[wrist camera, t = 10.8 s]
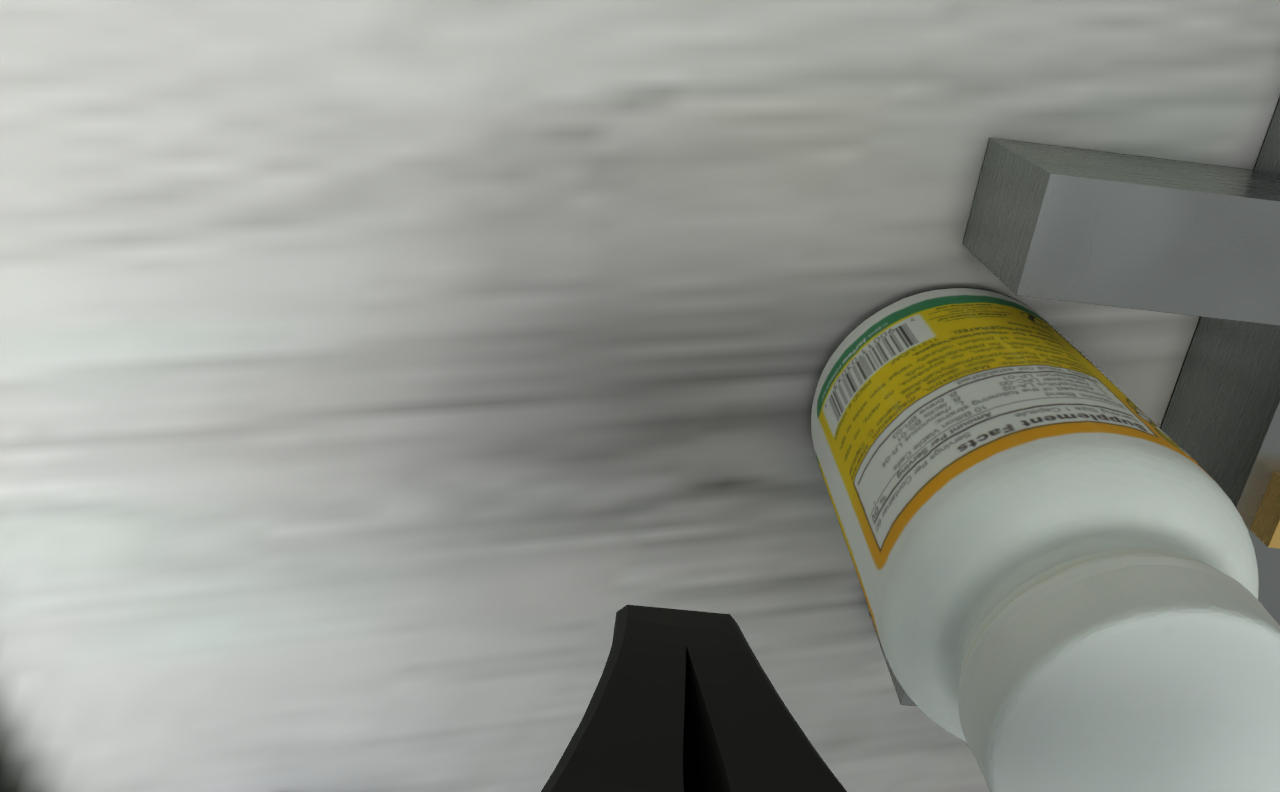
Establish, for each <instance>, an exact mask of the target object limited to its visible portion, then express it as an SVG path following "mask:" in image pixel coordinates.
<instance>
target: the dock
mask: <svg viewBox="0 0 1280 792" xmlns="http://www.w3.org/2000/svg"><path fill="white" fill-rule="evenodd" d="M963 245H964V246H965V247H966V248H967V249H968V250H969V251H970V252H972V253H973V254H974V255H975V256H976V257H977V258H978V259H979V260H980V261H981V262H982V263H983V264H984V265H985V266H986V267H987V268H988V269H989V270H990V271H991V272H992V273H993V274H994V275H996V276H997V277H998V278H999V279H1000V280H1001V281H1002V282H1003V283H1004V284H1005V285H1006V286H1007V287H1008V288H1009V289H1010V290H1011V291H1012V292H1013V293H1014V294H1015V295H1017V296H1026V297H1035V298H1044V299H1052V300H1061V301H1070V302H1079V303H1087V304H1096V305H1105V306H1114V307H1122V308H1131V309H1140V310H1149V311H1157V312H1166V313H1175V314H1184V315H1192V316H1201V318H1200V321H1199V324H1198V327H1197V330H1196V332H1195V335H1194V338H1193V341H1192V343H1191V346H1190V349H1189V352H1188V354H1187V357H1186V360H1185V363H1184V366H1183V368H1182V371H1181V374H1180V377H1179V379H1178V382H1177V385H1176V388H1175V390H1174V393H1173V396H1172V399H1171V401H1170V404H1169V407H1168V410H1167V413H1166V415H1165V418H1164V421H1163V424H1162V426H1161V430H1162V431H1163V432H1164V433H1165V434H1167V435H1168V436H1169V437H1170V438H1171V439H1172V440H1173V441H1174V442H1175V443H1176V444H1177V445H1178V446H1179V447H1180V448H1182V449H1183V450H1184V451H1185V452H1186V453H1188V454H1189V455H1190V456H1191V457H1192V458H1194V460H1195V461H1196V462H1197V463H1198V465H1199V466H1200V467H1201V468H1202V469H1203V470H1204V471H1205V472H1206V473H1207V474H1208V475H1209V476H1210V477H1211V478H1212V479H1213V480H1214V481H1215V482H1216V483H1217V484H1218V485H1219V486H1220V487H1221V489H1222V490H1223V491H1224V492H1225V493H1226V495H1227V496H1228V497H1229V498H1230V500H1231V501H1232V503H1233V504H1234V506H1235V507H1236V509H1237V510H1238V512H1239V514H1240V515H1241V517H1242V519H1243V521H1244V523H1245V525H1246V527H1247V529H1248V532H1249V535H1250V538H1251V541H1252V544H1253V547H1254V550H1255V556H1256V561H1257V567H1258V579H1259V586H1258V600H1259V602H1260V603H1261V604H1262V605H1263V606H1264V608H1265V609H1266V610H1267V611H1268V613H1269V614H1270V615H1271V616H1272V617H1273V618H1274V620H1275V621H1276V622H1277V623H1278V624H1279V625H1280V100H1279V103H1278V105H1277V108H1276V111H1275V114H1274V116H1273V119H1272V122H1271V125H1270V128H1269V130H1268V133H1267V136H1266V139H1265V141H1264V144H1263V147H1262V150H1261V152H1260V155H1259V158H1258V161H1257V164H1256V166H1255V169H1254V170H1248V169H1239V168H1231V167H1223V166H1215V165H1207V164H1199V163H1191V162H1182V161H1174V160H1166V159H1158V158H1150V157H1142V156H1134V155H1126V154H1117V153H1109V152H1101V151H1093V150H1085V149H1077V148H1069V147H1061V146H1052V145H1044V144H1036V143H1028V142H1020V141H1012V140H1004V139H995V138H990V139H989V143H988V147H987V151H986V155H985V159H984V163H983V167H982V171H981V174H980V178H979V182H978V186H977V190H976V194H975V198H974V202H973V206H972V210H971V214H970V218H969V222H968V226H967V229H966V233H965V237H964V241H963ZM869 615H870V618H871V620H872V623H873V626H874V629H875V632H876V635H877V638H878V641H879V643H880V646H881V649H882V652H883V655H884V658H885V661H886V664H887V666H888V669H889V672H890V675H891V678H892V681H893V684H894V686H895V689H896V692H897V695H898V698H899V701H900V704H901V705H909V706H917V705H916V704H915V703H914V702H913V701H912V700H911V698H910V697H909V696H908V695H907V694H906V692H905V691H904V689H903V688H902V686H901V685H900V683H899V682H898V680H897V679H896V677H895V675H894V673H893V671H892V669H891V667H890V665H889V663H888V661H887V658H886V656H885V653H884V651H883V648H882V645H881V642H880V640H879V637H878V634H877V631H876V628H875V625H874V622H873V619H872V616H871V613H870V611H869Z"/></svg>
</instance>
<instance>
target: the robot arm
mask: <svg viewBox="0 0 1280 792" xmlns="http://www.w3.org/2000/svg"><path fill="white" fill-rule="evenodd" d="M541 792H847V791H846V790H845V789H844V787H843V786H842V785H841V783H840V782H839V781H838V780H837V778H836V777H835V776H834V774H833V773H832V772H831V771H830V769H829V768H828V767H827V765H826V764H825V762H824V761H823V760H822V758H821V757H820V756H819V754H818V753H817V751H816V750H815V749H814V747H813V746H812V744H811V743H810V741H809V740H808V738H807V737H806V736H805V734H804V733H803V731H802V730H801V728H800V727H799V725H798V724H797V722H796V721H795V719H794V718H793V716H792V715H791V713H790V712H789V710H788V709H787V707H786V706H785V704H784V703H783V701H782V700H781V698H780V697H779V695H778V693H777V692H776V690H775V689H774V687H773V685H772V684H771V682H770V680H769V679H768V677H767V675H766V674H765V672H764V670H763V669H762V667H761V665H760V664H759V662H758V660H757V659H756V657H755V655H754V653H753V652H752V650H751V648H750V646H749V644H748V643H747V641H746V639H745V637H744V635H743V634H742V632H741V630H740V628H739V626H738V624H737V623H736V622H735V620H734V619H733V618H732V617H731V615H730V614H720V613H709V612H698V611H688V610H677V609H666V608H656V607H645V606H634V605H626V606H625V607H623V608H622V609H621V610H619V611H618V612H617V613H616V621H615V628H614V635H613V643H612V647H611V650H610V654H609V657H608V660H607V662H606V665H605V668H604V671H603V674H602V676H601V679H600V681H599V683H598V685H597V688H596V690H595V692H594V694H593V697H592V699H591V701H590V703H589V706H588V708H587V710H586V713H585V715H584V717H583V719H582V721H581V723H580V725H579V727H578V728H577V730H576V732H575V734H574V736H573V737H572V739H571V741H570V743H569V745H568V747H567V748H566V750H565V752H564V754H563V756H562V757H561V759H560V761H559V763H558V765H557V766H556V768H555V770H554V772H553V773H552V775H551V776H550V778H549V780H548V781H547V783H546V784H545V786H544V788H543V789H542V791H541Z"/></svg>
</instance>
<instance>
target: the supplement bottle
mask: <svg viewBox="0 0 1280 792" xmlns="http://www.w3.org/2000/svg"><path fill="white" fill-rule="evenodd" d="M811 434H812V440H813V447H814V450H815V454H816V457H817V461H818V464H819V467H820V471H821V474H822V476H823V479H824V481H825V484H826V486H827V490H828V493H829V496H830V498H831V501H832V504H833V507H834V510H835V512H836V515H837V518H838V521H839V524H840V527H841V530H842V533H843V536H844V538H845V541H846V544H847V547H848V550H849V552H850V555H851V558H852V561H853V564H854V566H855V569H856V572H857V575H858V578H859V581H860V584H861V587H862V590H863V593H864V595H865V598H866V601H867V604H868V607H869V610H870V613H871V616H872V619H873V622H874V625H875V628H876V631H877V634H878V637H879V640H880V642H881V645H882V648H883V651H884V653H885V656H886V658H887V661H888V663H889V665H890V667H891V669H892V671H893V673H894V675H895V677H896V679H897V680H898V682H899V683H900V685H901V686H902V688H903V689H904V691H905V692H906V694H907V695H908V696H909V697H910V698H911V700H912V701H913V702H914V703H915V704H916V705H917V706H918V708H919V709H920V710H921V711H923V712H924V713H925V714H926V715H927V716H928V717H929V718H930V719H931V720H932V721H934V722H935V723H936V724H938V725H939V726H940V727H942V728H943V729H945V730H946V731H948V732H949V733H951V734H952V735H954V736H956V737H958V738H960V739H962V740H964V741H966V742H967V745H968V746H969V748H970V750H971V751H972V753H973V755H974V756H975V758H976V760H977V762H978V764H979V767H980V769H981V771H982V773H983V776H984V778H985V780H986V782H987V785H988V787H989V789H990V791H991V792H1280V625H1279V624H1278V623H1277V622H1276V621H1275V620H1274V618H1273V617H1272V616H1271V615H1270V614H1269V613H1268V611H1267V610H1266V609H1265V608H1264V606H1263V605H1262V604H1261V603H1260V602H1259V600H1258V586H1259V579H1258V567H1257V561H1256V556H1255V550H1254V547H1253V544H1252V541H1251V538H1250V535H1249V532H1248V529H1247V527H1246V525H1245V523H1244V521H1243V519H1242V517H1241V515H1240V514H1239V512H1238V510H1237V509H1236V507H1235V506H1234V504H1233V503H1232V501H1231V500H1230V498H1229V497H1228V496H1227V495H1226V493H1225V492H1224V491H1223V490H1222V489H1221V487H1220V486H1219V485H1218V484H1217V483H1216V482H1215V481H1214V480H1213V479H1212V478H1211V477H1210V476H1209V475H1208V474H1207V473H1206V472H1205V471H1204V470H1203V469H1202V468H1201V467H1200V466H1199V465H1198V463H1197V462H1196V461H1195V460H1194V458H1192V457H1191V456H1190V455H1189V454H1188V453H1186V452H1185V451H1184V450H1183V449H1182V448H1180V447H1179V446H1178V445H1177V444H1176V443H1175V442H1174V441H1173V440H1172V439H1171V438H1170V437H1169V436H1168V435H1167V434H1165V433H1164V432H1163V431H1162V430H1161V429H1160V428H1159V427H1158V426H1157V425H1156V424H1155V423H1154V422H1153V421H1151V420H1150V419H1149V418H1148V417H1147V416H1146V415H1145V414H1144V413H1143V412H1142V411H1141V410H1140V409H1138V408H1137V407H1136V406H1135V405H1134V404H1133V403H1132V402H1131V401H1130V400H1129V399H1128V398H1127V397H1126V396H1125V395H1124V394H1123V393H1122V392H1121V391H1120V390H1119V389H1118V388H1117V387H1116V386H1115V385H1114V384H1113V383H1112V382H1111V381H1109V380H1108V379H1107V378H1106V377H1105V376H1104V375H1103V374H1102V373H1101V372H1100V371H1099V370H1098V369H1097V368H1096V367H1095V366H1094V365H1093V364H1092V363H1091V362H1090V361H1089V360H1088V359H1086V358H1085V357H1084V356H1083V355H1082V354H1081V353H1080V352H1079V351H1078V350H1077V349H1076V348H1074V347H1073V346H1072V345H1071V344H1070V343H1069V342H1068V341H1067V340H1066V339H1065V338H1064V337H1063V336H1061V335H1060V334H1059V333H1058V332H1057V331H1056V330H1055V329H1054V328H1052V327H1051V326H1050V325H1049V324H1048V323H1047V322H1046V321H1045V320H1044V319H1043V318H1041V317H1040V316H1039V315H1038V314H1037V313H1036V312H1034V311H1033V310H1031V309H1030V308H1028V307H1027V306H1025V305H1024V304H1022V303H1021V302H1019V301H1016V300H1014V299H1012V298H1010V297H1007V296H1004V295H1001V294H998V293H995V292H990V291H986V290H980V289H971V288H951V289H940V290H933V291H928V292H923V293H919V294H916V295H912V296H909V297H906V298H904V299H901V300H899V301H897V302H895V303H893V304H891V305H889V306H887V307H885V308H883V309H882V310H880V311H878V312H877V313H875V314H873V315H872V316H870V317H869V318H868V319H866V320H865V321H863V322H862V323H861V324H860V325H859V326H858V327H857V328H855V329H854V330H853V331H852V332H851V333H850V334H849V335H848V336H847V337H846V338H845V339H844V340H843V342H842V343H841V344H840V345H839V346H838V348H837V349H836V351H835V352H834V353H833V355H832V356H831V357H830V359H829V361H828V363H827V364H826V366H825V368H824V369H823V372H822V374H821V377H820V379H819V382H818V385H817V388H816V391H815V396H814V400H813V405H812V413H811Z"/></svg>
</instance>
